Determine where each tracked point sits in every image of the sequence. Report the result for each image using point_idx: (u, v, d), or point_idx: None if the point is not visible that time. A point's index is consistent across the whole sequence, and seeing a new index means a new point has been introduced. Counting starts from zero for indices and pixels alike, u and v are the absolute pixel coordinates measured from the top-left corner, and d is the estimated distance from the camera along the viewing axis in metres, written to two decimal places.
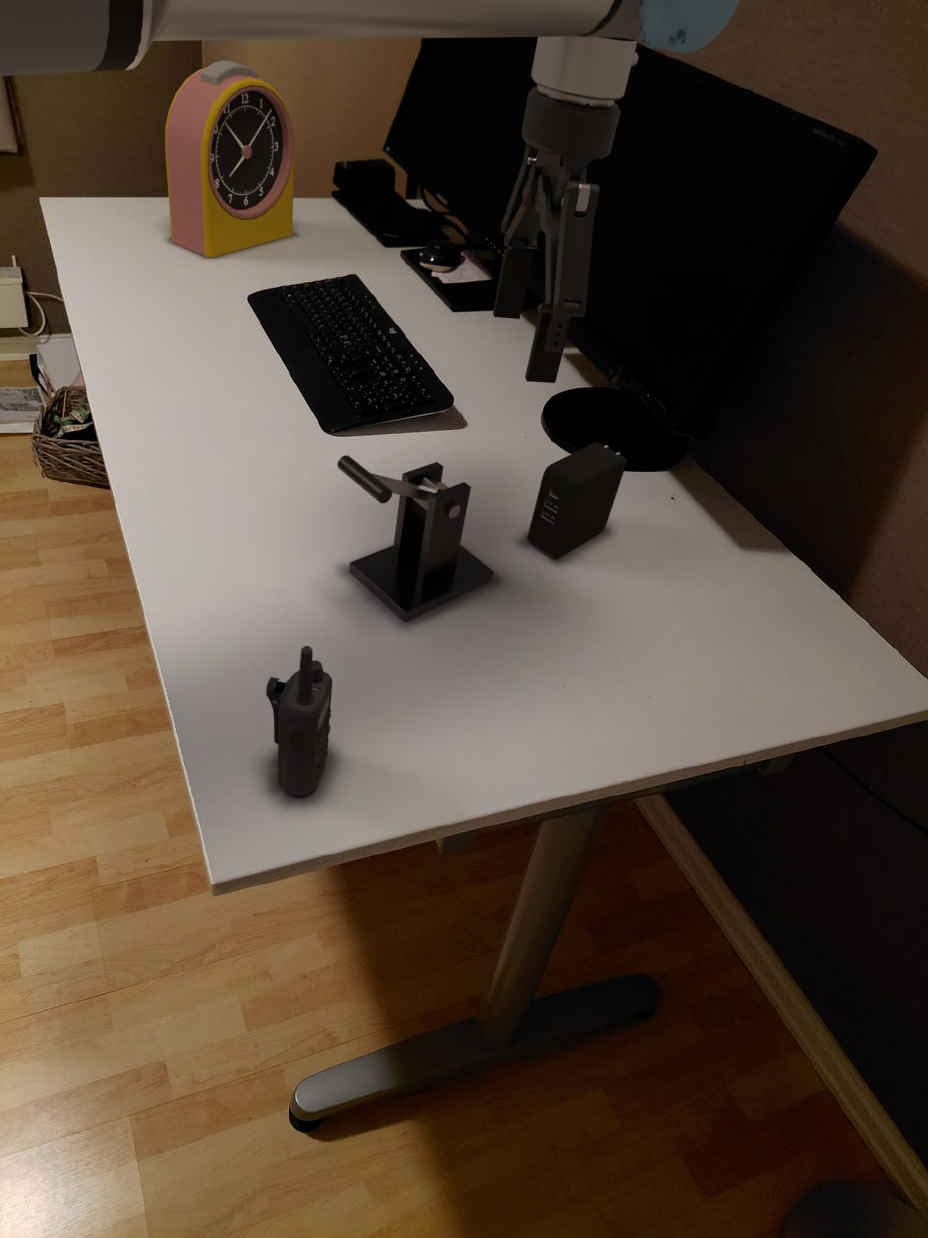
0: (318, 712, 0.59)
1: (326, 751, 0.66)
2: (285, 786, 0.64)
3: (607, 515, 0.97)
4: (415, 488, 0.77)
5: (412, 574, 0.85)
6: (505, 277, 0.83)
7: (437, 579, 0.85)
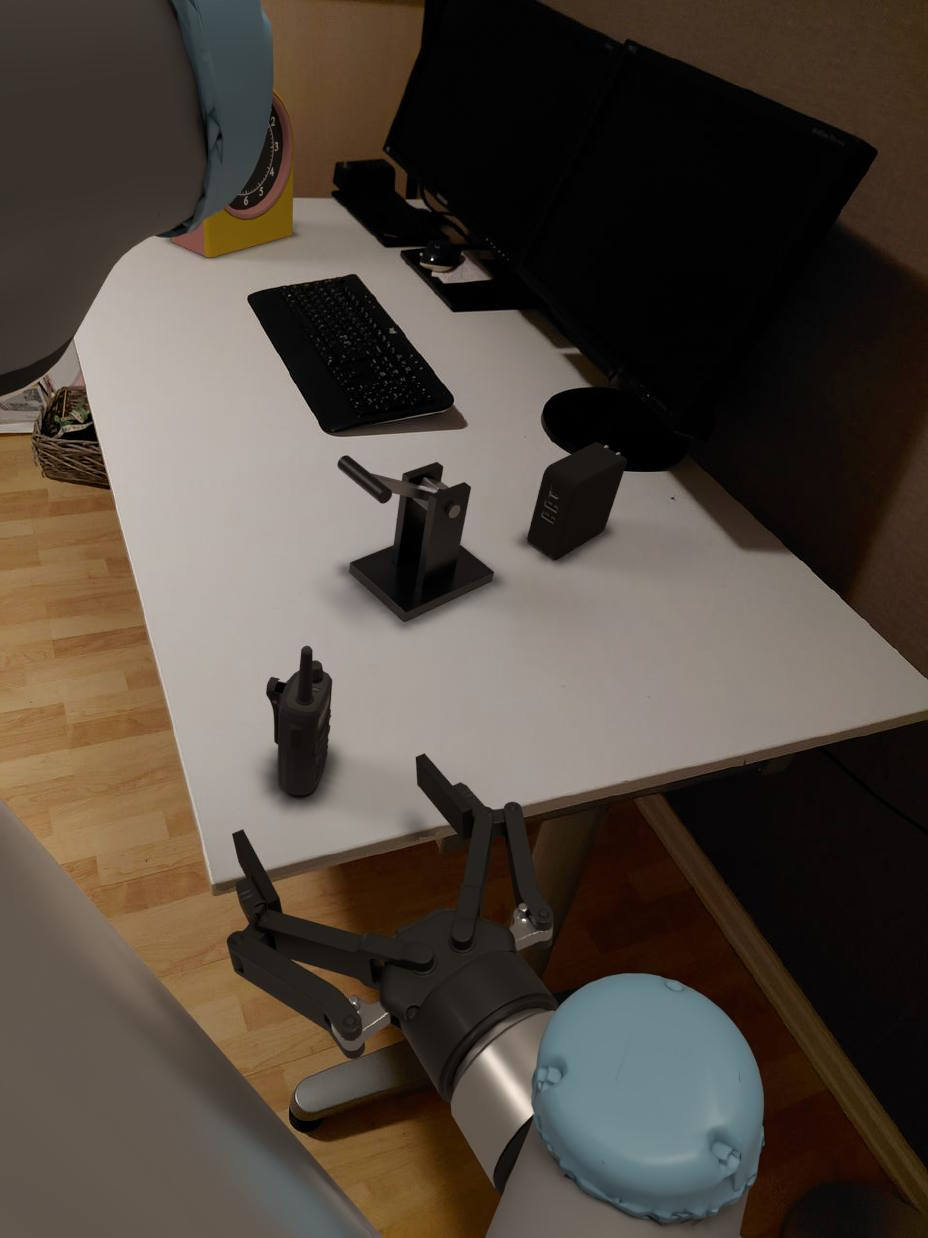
0: (318, 712, 0.59)
1: (326, 751, 0.66)
2: (285, 786, 0.64)
3: (607, 515, 0.97)
4: (415, 488, 0.77)
5: (412, 574, 0.85)
6: (443, 794, 0.58)
7: (437, 579, 0.85)
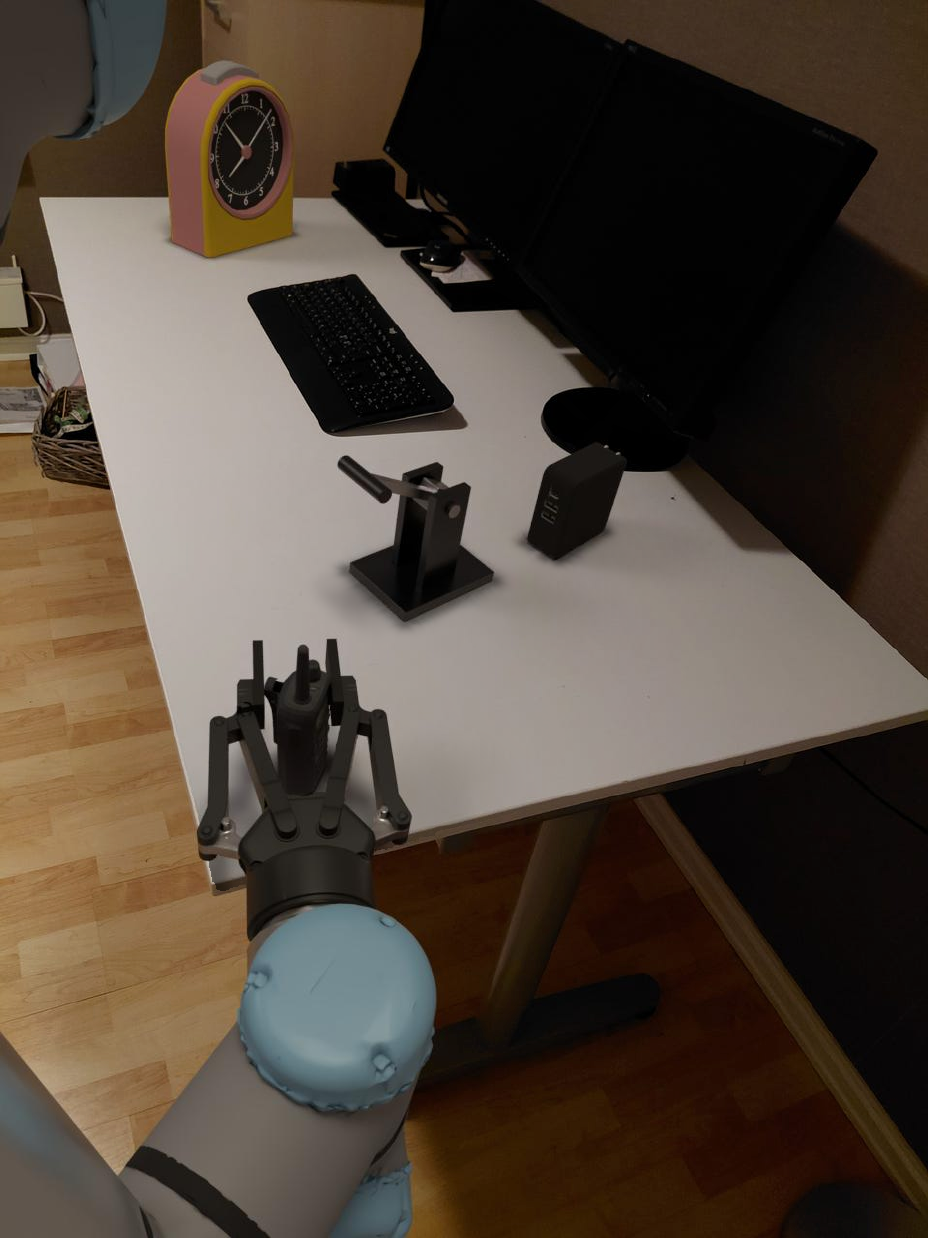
0: (316, 711, 0.59)
1: (326, 750, 0.66)
2: (285, 786, 0.64)
3: (607, 515, 0.97)
4: (415, 488, 0.77)
5: (412, 574, 0.85)
6: (330, 680, 0.62)
7: (437, 579, 0.85)
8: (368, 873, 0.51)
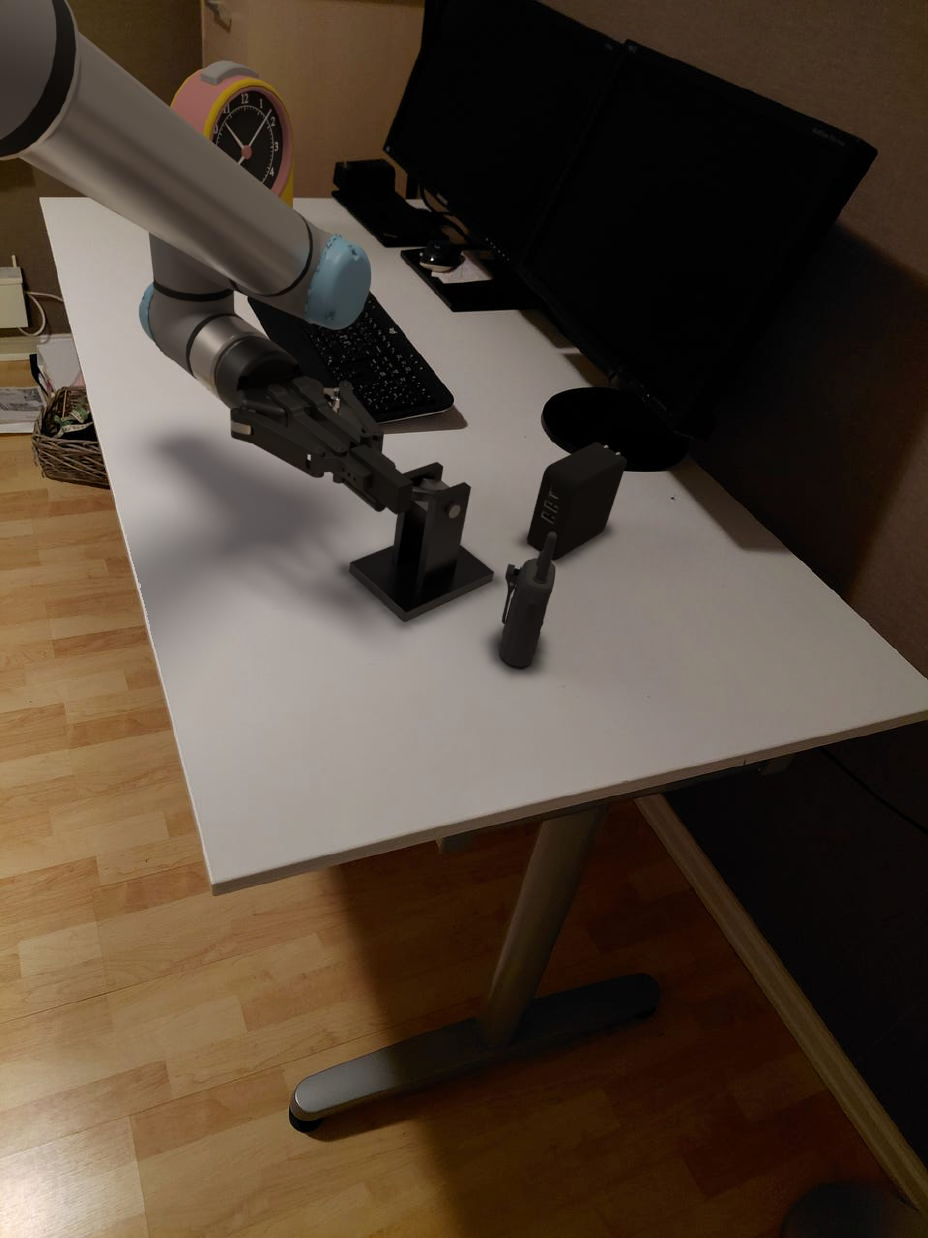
0: (551, 590, 0.74)
1: None
2: (509, 658, 0.79)
3: (607, 515, 0.97)
4: (413, 491, 0.77)
5: (412, 574, 0.85)
6: None
7: (437, 579, 0.85)
8: (231, 376, 0.76)
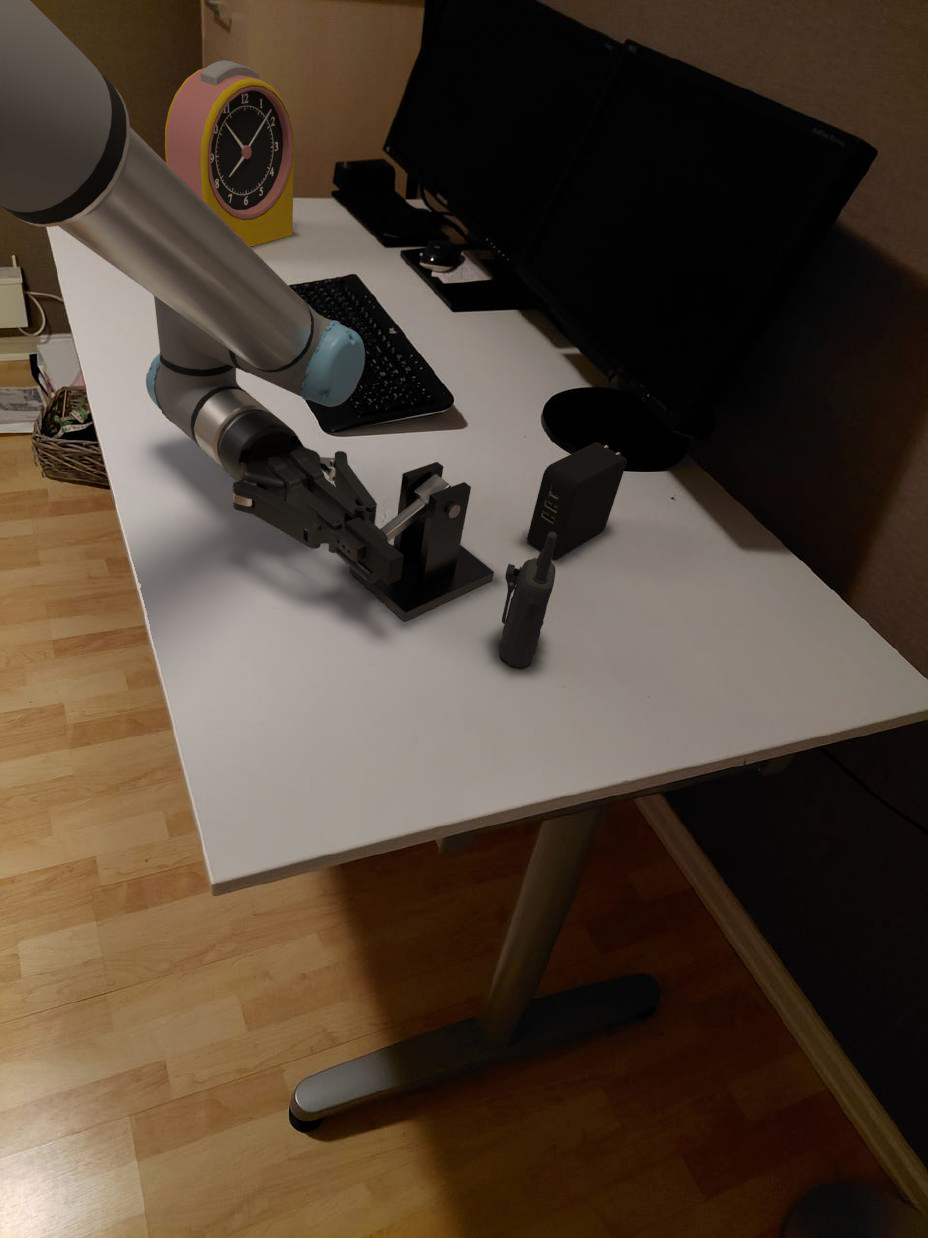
0: (551, 590, 0.74)
1: None
2: (509, 658, 0.79)
3: (607, 515, 0.97)
4: (407, 519, 0.79)
5: (412, 574, 0.85)
6: None
7: (437, 579, 0.85)
8: (234, 449, 0.81)
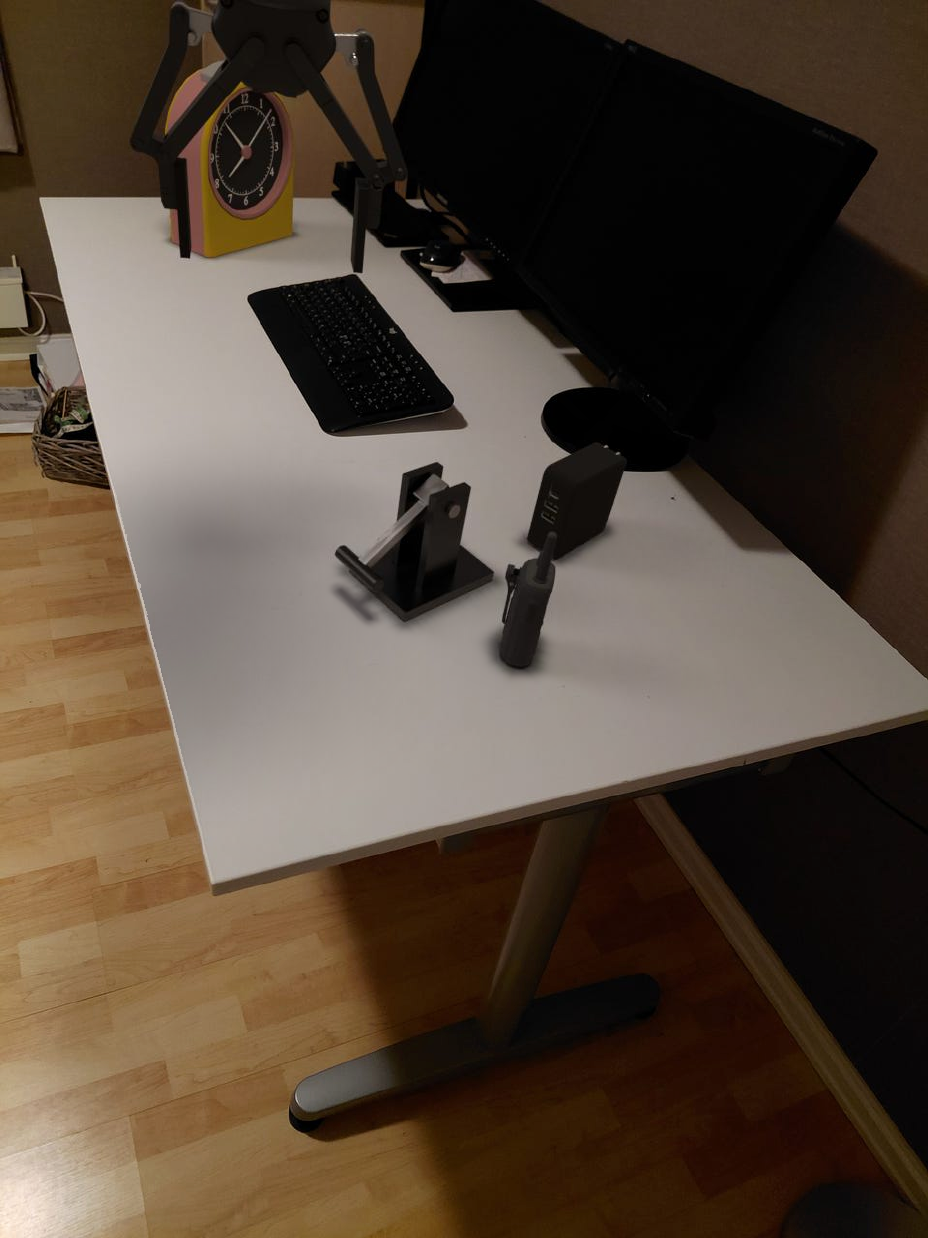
0: (551, 590, 0.74)
1: None
2: (509, 658, 0.79)
3: (607, 515, 0.97)
4: (408, 523, 0.80)
5: (412, 574, 0.85)
6: (187, 202, 0.64)
7: (437, 579, 0.85)
8: None
